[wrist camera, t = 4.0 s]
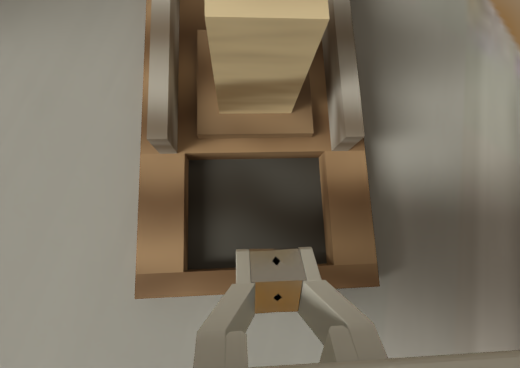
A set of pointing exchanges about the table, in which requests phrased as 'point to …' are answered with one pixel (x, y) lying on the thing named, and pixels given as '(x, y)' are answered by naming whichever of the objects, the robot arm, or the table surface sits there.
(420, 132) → the table surface
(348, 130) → the track
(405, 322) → the table surface
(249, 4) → the wood block
